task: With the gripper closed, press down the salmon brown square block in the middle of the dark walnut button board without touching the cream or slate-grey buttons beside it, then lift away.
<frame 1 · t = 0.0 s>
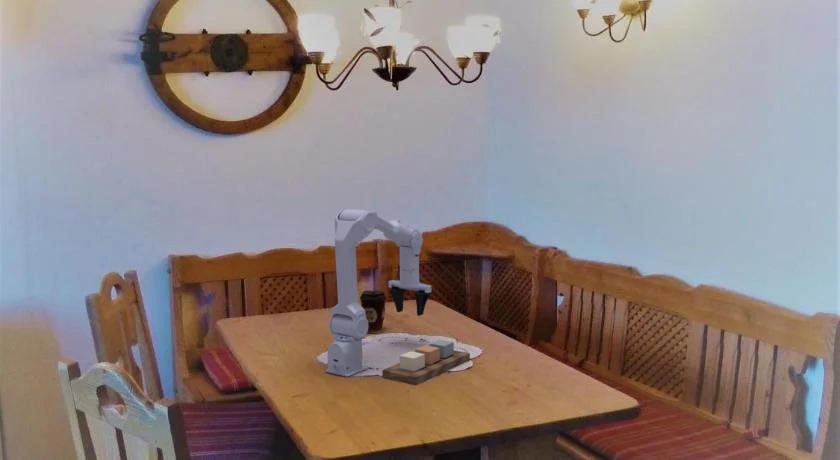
hand: (409, 313, 240), 10 cm above the table, fingers open, 7 cm apart
cream block: (412, 361, 214), point 4 cm above the table, slide at 0.0 cm
board: (427, 368, 220), on the table
button slate: (441, 348, 225), point 4 cm above the table, slide at 0.0 cm
salmon brown square block: (427, 354, 219), point 4 cm above the table, slide at 0.0 cm
coffee cup: (373, 331, 259), on the table
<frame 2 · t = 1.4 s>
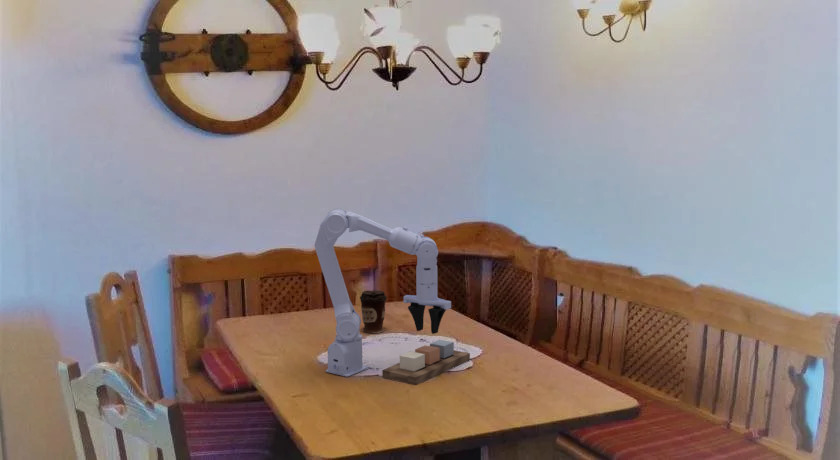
hand: (427, 331, 218), 10 cm above the table, fingers open, 4 cm apart
nothing on the table moved.
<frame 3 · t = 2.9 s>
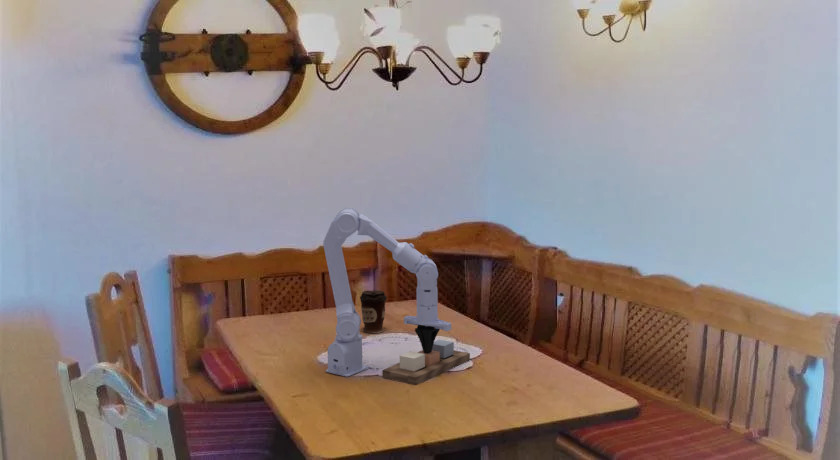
hand: (427, 352, 219), 4 cm above the table, fingers closed, pressing on salmon brown square block
salmon brown square block: (427, 358, 220), point 3 cm above the table, slide at 1.1 cm, touching gripper
everything else where it was.
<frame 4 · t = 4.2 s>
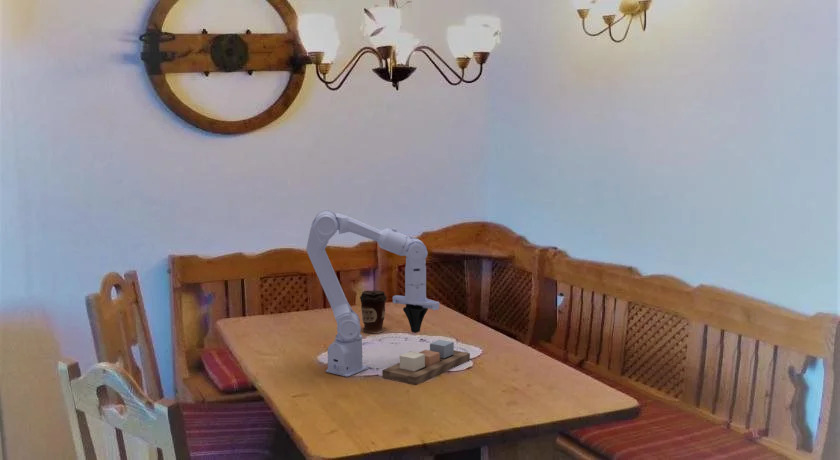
hand: (415, 331, 220), 10 cm above the table, fingers closed
salmon brown square block: (427, 359, 220), point 3 cm above the table, slide at 1.3 cm
everything else where it was.
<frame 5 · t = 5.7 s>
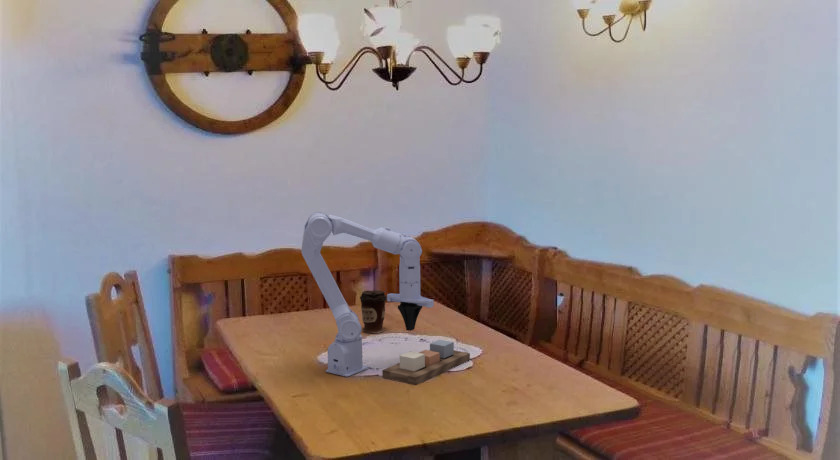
hand: (410, 329, 221), 10 cm above the table, fingers closed
nothing on the table moved.
at the end: salmon brown square block slide at 1.3 cm; cream block slide at 0.0 cm; button slate slide at 0.0 cm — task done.
